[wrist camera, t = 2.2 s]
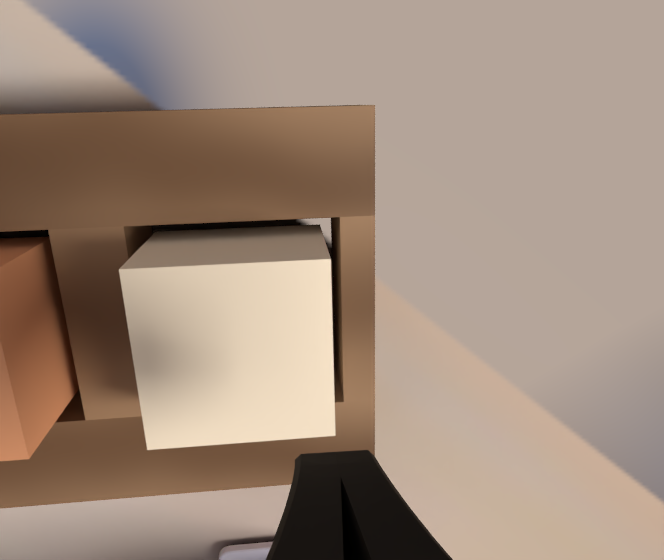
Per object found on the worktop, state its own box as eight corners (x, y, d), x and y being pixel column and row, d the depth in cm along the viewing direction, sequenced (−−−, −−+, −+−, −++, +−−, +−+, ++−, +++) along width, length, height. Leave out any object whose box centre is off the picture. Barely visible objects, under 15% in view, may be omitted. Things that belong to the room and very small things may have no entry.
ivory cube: (324, 368, 18) (335, 435, 14) (174, 378, 18) (147, 449, 14) (319, 224, 17) (330, 258, 13) (155, 231, 16) (118, 269, 12)
